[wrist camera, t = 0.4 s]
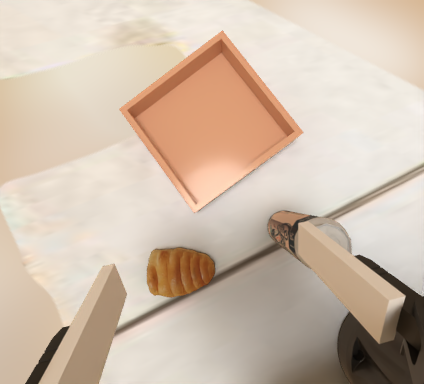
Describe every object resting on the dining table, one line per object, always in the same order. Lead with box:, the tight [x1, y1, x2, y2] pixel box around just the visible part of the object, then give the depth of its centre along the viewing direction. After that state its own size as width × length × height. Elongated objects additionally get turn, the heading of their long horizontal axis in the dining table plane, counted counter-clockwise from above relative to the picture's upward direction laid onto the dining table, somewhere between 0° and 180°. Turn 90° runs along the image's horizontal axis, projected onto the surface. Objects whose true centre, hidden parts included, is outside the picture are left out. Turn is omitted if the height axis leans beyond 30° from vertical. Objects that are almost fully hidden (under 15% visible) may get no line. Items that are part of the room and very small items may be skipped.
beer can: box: [268, 211, 352, 269], centre depth 22 cm, size 5×5×12 cm
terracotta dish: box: [120, 31, 303, 213], centre depth 28 cm, size 18×18×4 cm
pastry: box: [147, 248, 215, 297], centre depth 27 cm, size 9×7×4 cm
